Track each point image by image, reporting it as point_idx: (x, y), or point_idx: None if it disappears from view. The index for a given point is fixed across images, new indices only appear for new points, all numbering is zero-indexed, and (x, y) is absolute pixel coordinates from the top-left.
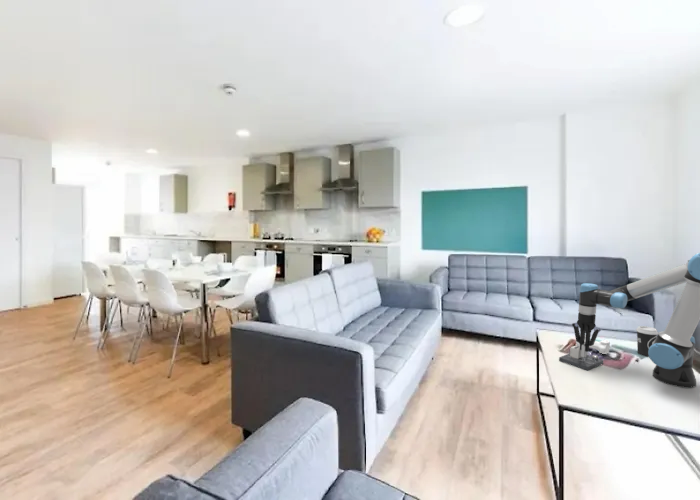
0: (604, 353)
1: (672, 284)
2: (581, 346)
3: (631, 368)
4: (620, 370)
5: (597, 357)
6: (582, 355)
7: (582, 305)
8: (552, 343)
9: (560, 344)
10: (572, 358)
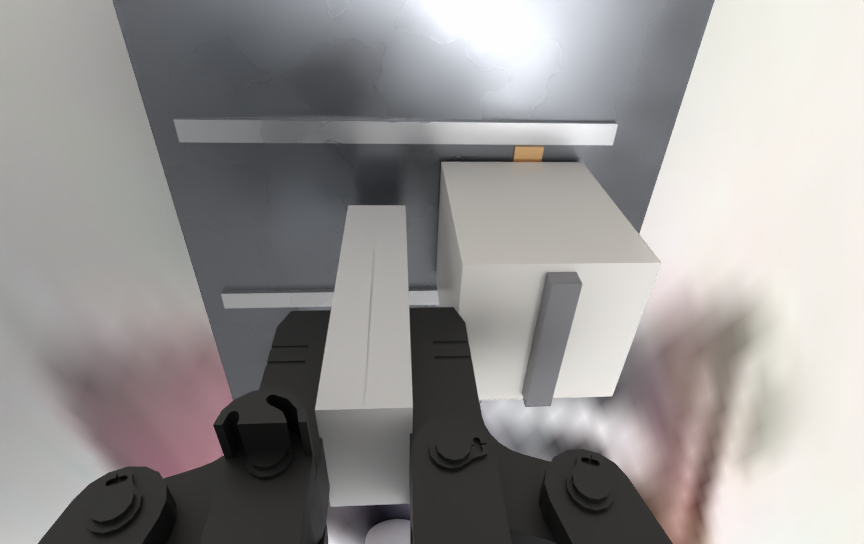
0: (373, 537)
1: None
2: (431, 378)
3: (51, 460)
4: (23, 346)
5: None
6: (376, 222)
7: None
8: (840, 432)
9: (761, 461)
10: (518, 103)
